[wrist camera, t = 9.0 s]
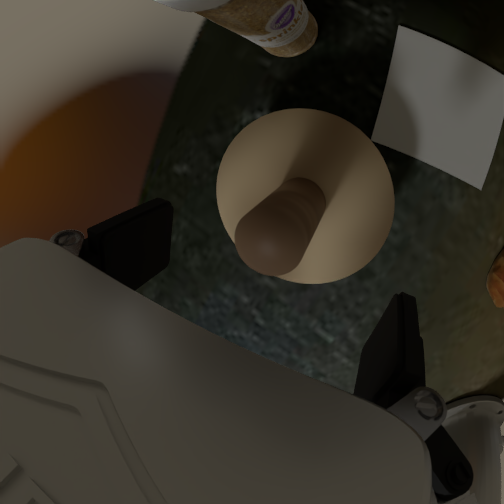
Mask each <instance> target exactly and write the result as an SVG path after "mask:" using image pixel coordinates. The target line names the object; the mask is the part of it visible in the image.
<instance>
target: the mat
mask: <svg viewBox="0 0 504 504" xmlns="http://www.w3.org/2000/svg"><path fill="white" fill-rule="evenodd" d="M503 117H504V75H502V74H501V73H499V72H497V71H496V70H494V69H492V68H491V67H489V66H487V65H486V64H484V63H482V62H480V61H479V60H477V59H475V58H473V57H471V56H469V55H467V54H465V53H463V52H461V51H459V50H457V49H455V48H453V47H451V46H449V45H447V44H445V43H443V42H440V41H438V40H436V39H433V38H431V37H429V36H426V35H424V34H421V33H419V32H416V31H413V30H411V29H408V28H405V27H402V26H400V25H399V26H398V31H397V36H396V41H395V46H394V50H393V55H392V60H391V64H390V68H389V73H388V77H387V81H386V85H385V89H384V93H383V97H382V101H381V105H380V109H379V112H378V116H377V120H376V123H375V127H374V130H373V134H372V137H371V141H374V142H377V143H379V144H382V145H385V146H387V147H390V148H392V149H395V150H397V151H400V152H402V153H405V154H407V155H410V156H412V157H414V158H417V159H419V160H421V161H423V162H426V163H428V164H430V165H432V166H434V167H437V168H439V169H441V170H443V171H445V172H447V173H449V174H451V175H453V176H455V177H457V178H459V179H461V180H463V181H465V182H467V183H469V184H471V185H473V186H474V187H476V188H478V189H480V190H481V189H482V186H483V183H484V181H485V178H486V175H487V172H488V169H489V166H490V163H491V160H492V157H493V154H494V151H495V147H496V144H497V140H498V137H499V133H500V129H501V126H502V122H503Z"/></svg>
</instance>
